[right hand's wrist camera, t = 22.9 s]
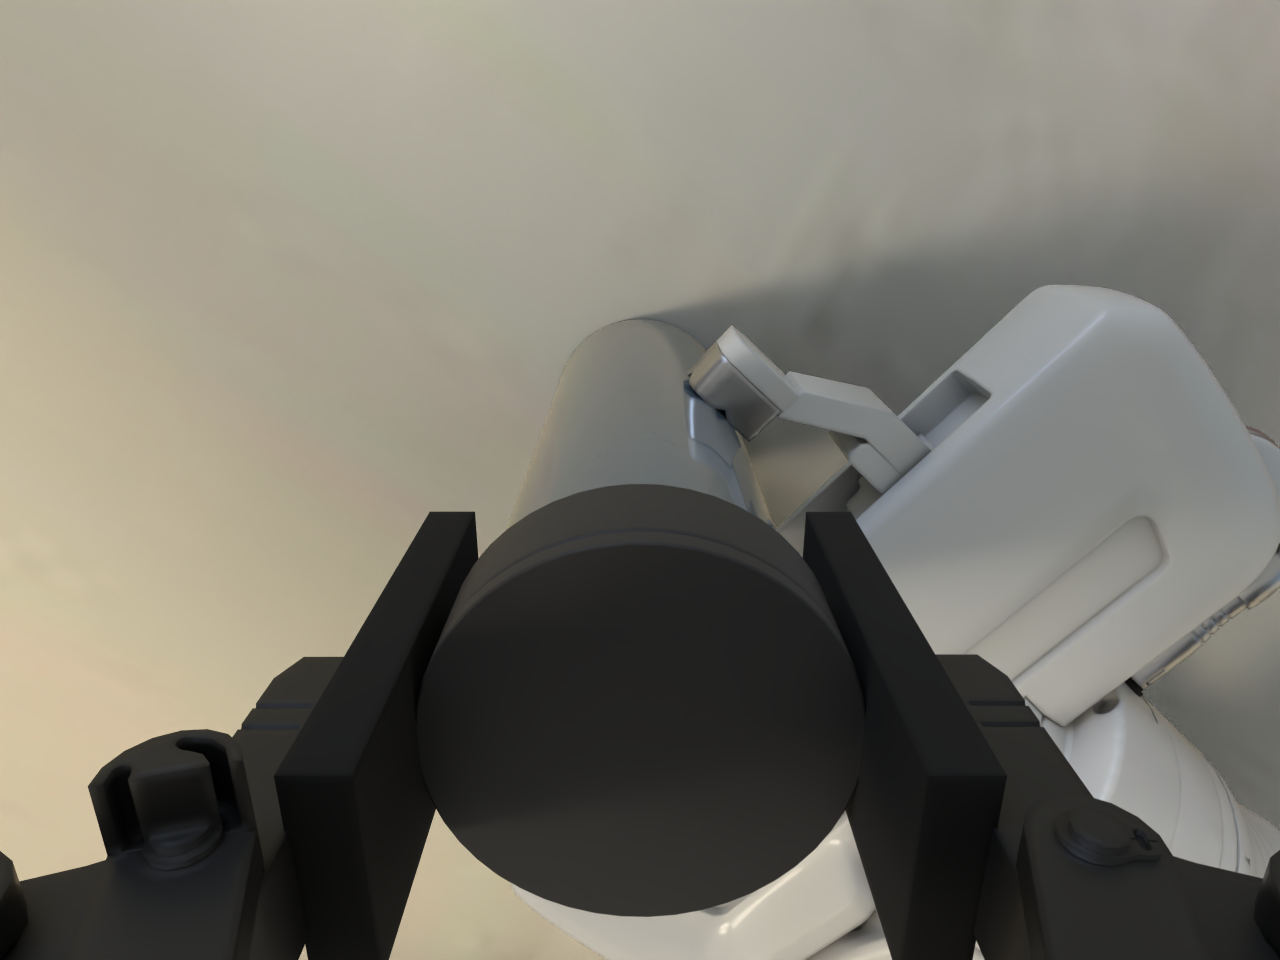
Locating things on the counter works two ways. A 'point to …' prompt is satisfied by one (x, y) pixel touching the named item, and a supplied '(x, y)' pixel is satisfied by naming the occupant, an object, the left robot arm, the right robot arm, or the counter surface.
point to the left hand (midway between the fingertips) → (610, 456)
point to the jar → (636, 424)
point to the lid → (640, 705)
